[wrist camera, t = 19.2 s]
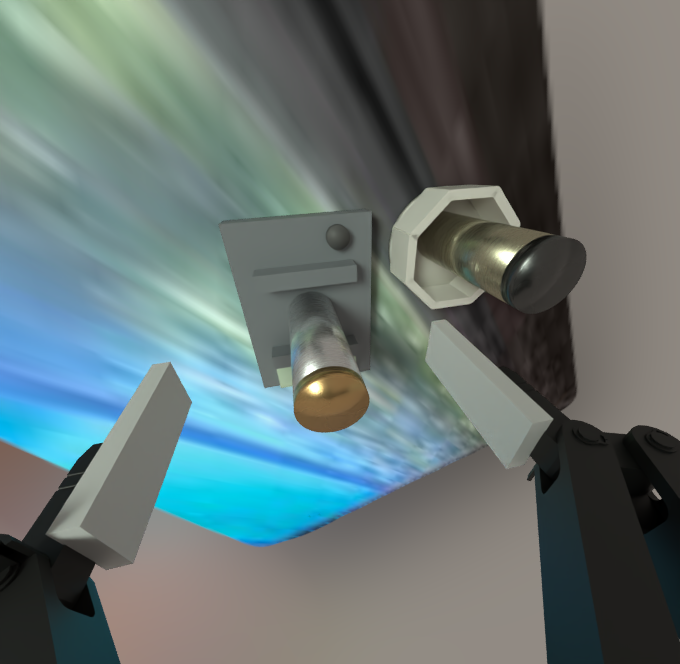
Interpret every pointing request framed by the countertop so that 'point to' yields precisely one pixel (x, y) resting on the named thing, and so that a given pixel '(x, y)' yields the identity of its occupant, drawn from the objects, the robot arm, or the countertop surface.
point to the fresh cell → (323, 367)
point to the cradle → (301, 279)
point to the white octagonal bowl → (404, 256)
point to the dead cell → (505, 259)
